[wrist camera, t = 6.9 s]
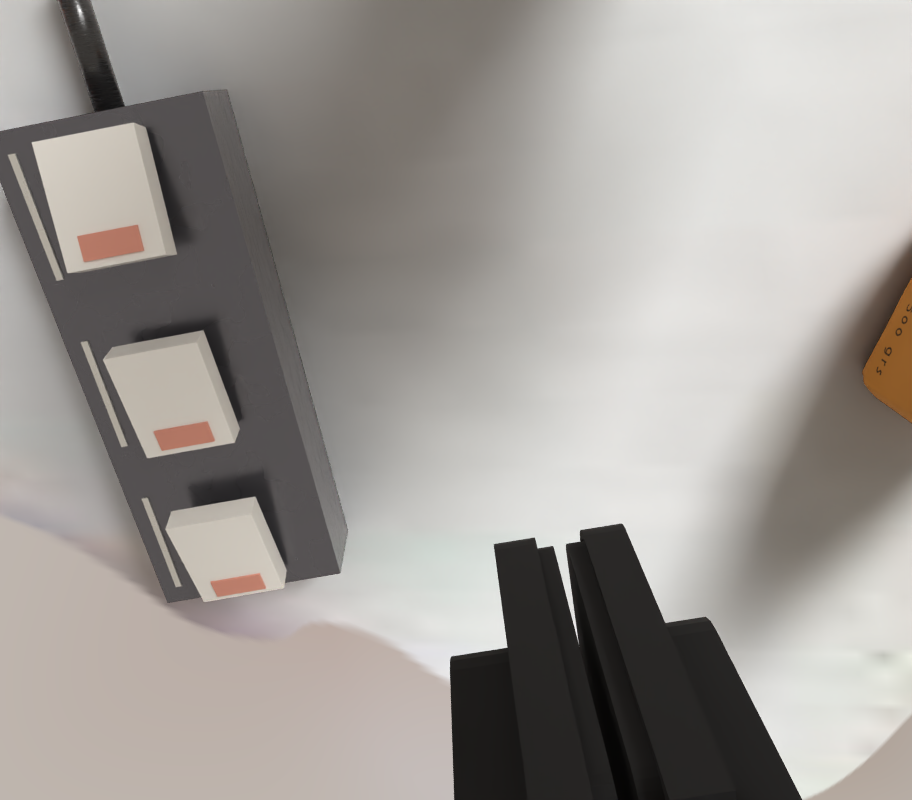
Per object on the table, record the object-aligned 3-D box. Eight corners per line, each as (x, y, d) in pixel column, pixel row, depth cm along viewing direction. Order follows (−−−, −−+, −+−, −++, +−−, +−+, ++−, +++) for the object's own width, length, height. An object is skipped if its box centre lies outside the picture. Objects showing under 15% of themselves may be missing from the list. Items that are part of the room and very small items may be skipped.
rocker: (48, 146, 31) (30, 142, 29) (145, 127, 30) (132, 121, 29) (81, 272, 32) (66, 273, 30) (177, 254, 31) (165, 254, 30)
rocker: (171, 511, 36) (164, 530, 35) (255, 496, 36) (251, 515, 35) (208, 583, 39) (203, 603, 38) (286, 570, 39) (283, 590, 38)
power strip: (-27, -23, 32) (-101, -39, 28) (184, -66, 32) (144, -89, 27) (190, 557, 43) (162, 613, 39) (347, 530, 43) (338, 583, 38)
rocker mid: (112, 347, 33) (102, 360, 32) (203, 330, 33) (196, 343, 32) (154, 443, 35) (146, 459, 34) (239, 428, 35) (234, 443, 34)
